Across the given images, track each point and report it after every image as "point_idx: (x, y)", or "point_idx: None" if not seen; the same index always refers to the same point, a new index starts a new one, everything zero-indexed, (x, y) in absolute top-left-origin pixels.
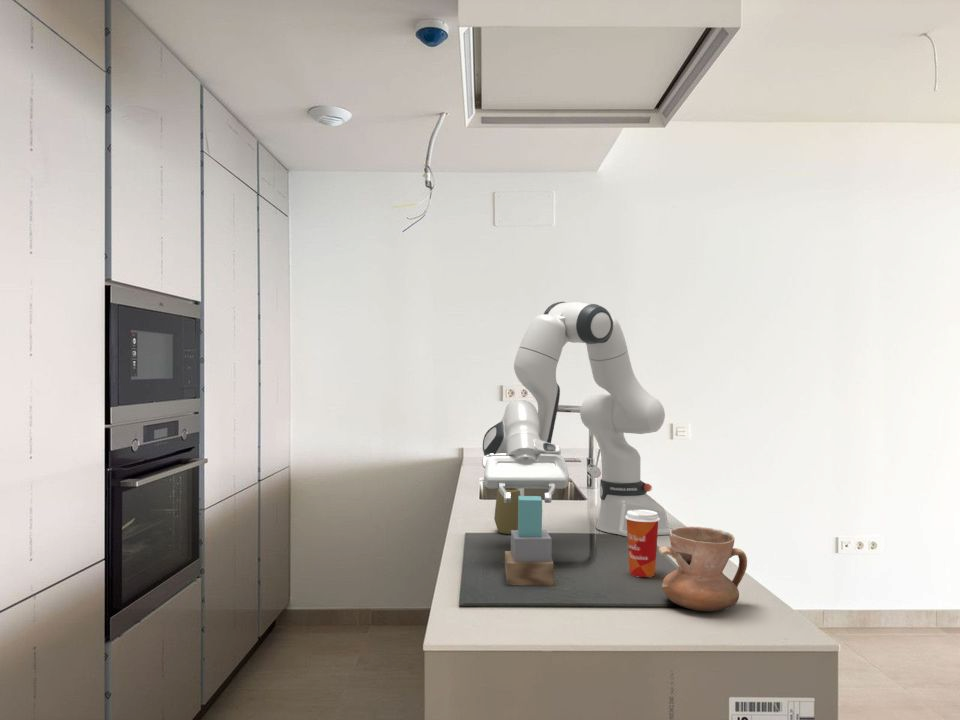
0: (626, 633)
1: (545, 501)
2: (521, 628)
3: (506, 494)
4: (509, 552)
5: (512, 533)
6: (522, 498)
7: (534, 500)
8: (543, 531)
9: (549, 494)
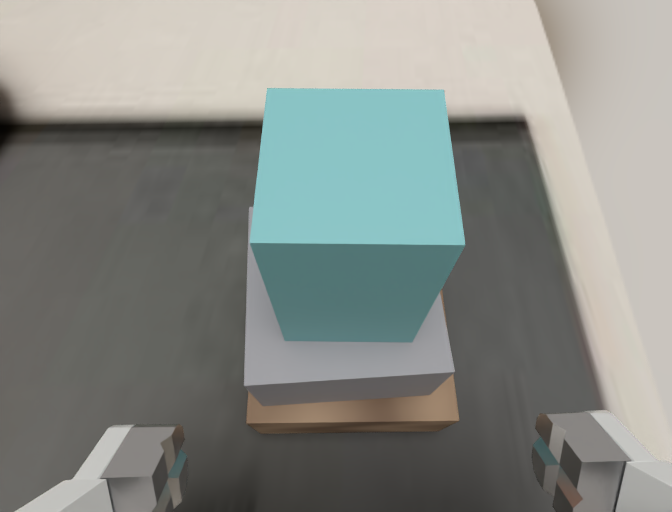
0: (181, 16)
1: (180, 451)
2: (377, 30)
3: (617, 447)
4: (435, 391)
5: (440, 297)
6: (421, 141)
7: (326, 91)
8: (264, 348)
9: (105, 456)
